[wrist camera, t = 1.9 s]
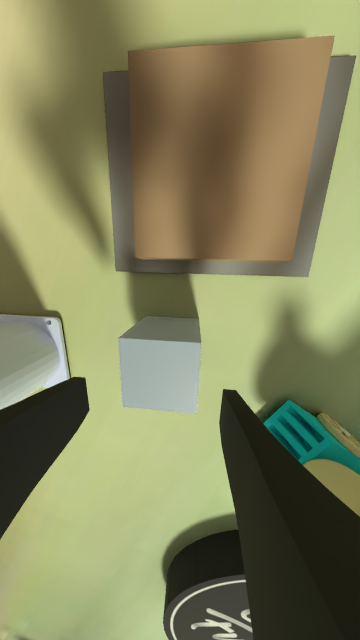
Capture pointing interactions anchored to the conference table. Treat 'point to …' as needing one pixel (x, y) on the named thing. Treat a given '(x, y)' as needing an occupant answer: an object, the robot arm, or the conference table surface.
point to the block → (161, 364)
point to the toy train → (321, 449)
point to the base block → (223, 155)
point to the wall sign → (208, 591)
